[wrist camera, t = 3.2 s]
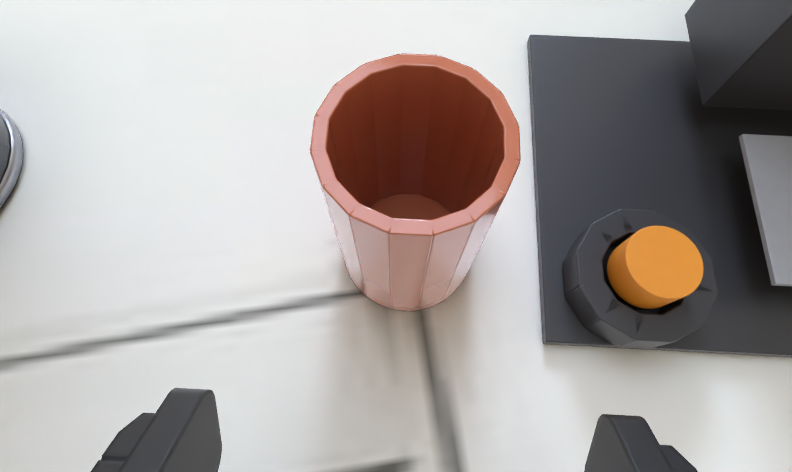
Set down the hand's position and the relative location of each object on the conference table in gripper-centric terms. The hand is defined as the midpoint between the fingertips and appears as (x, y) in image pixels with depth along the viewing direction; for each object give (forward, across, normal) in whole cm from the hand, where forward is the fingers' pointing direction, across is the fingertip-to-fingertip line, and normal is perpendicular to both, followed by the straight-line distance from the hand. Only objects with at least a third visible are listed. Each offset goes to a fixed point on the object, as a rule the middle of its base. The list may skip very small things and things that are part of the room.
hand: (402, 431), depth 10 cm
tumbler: (+15, 0, +3) cm, 15 cm away
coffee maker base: (+18, -17, 0) cm, 24 cm away
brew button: (+12, -11, +2) cm, 16 cm away
